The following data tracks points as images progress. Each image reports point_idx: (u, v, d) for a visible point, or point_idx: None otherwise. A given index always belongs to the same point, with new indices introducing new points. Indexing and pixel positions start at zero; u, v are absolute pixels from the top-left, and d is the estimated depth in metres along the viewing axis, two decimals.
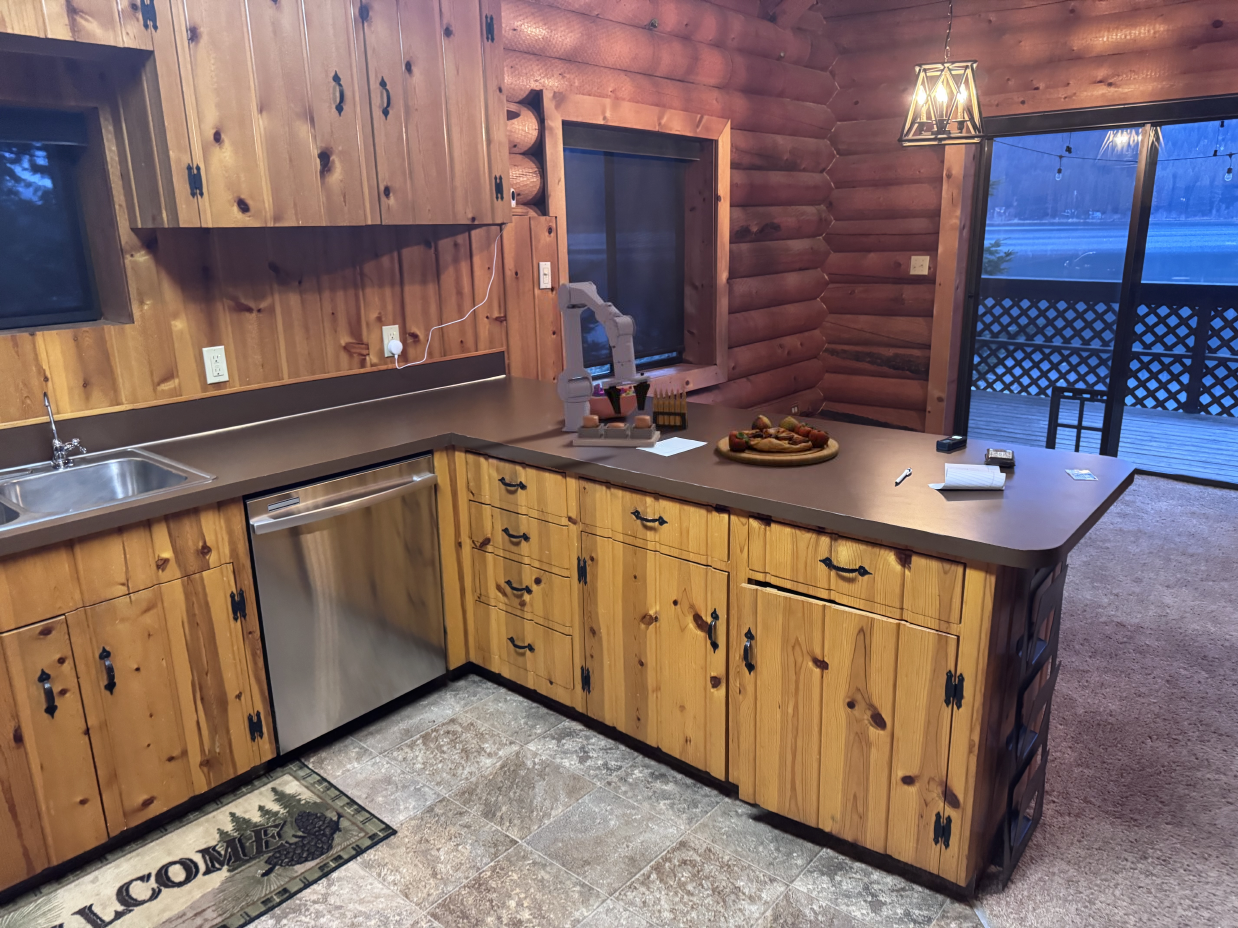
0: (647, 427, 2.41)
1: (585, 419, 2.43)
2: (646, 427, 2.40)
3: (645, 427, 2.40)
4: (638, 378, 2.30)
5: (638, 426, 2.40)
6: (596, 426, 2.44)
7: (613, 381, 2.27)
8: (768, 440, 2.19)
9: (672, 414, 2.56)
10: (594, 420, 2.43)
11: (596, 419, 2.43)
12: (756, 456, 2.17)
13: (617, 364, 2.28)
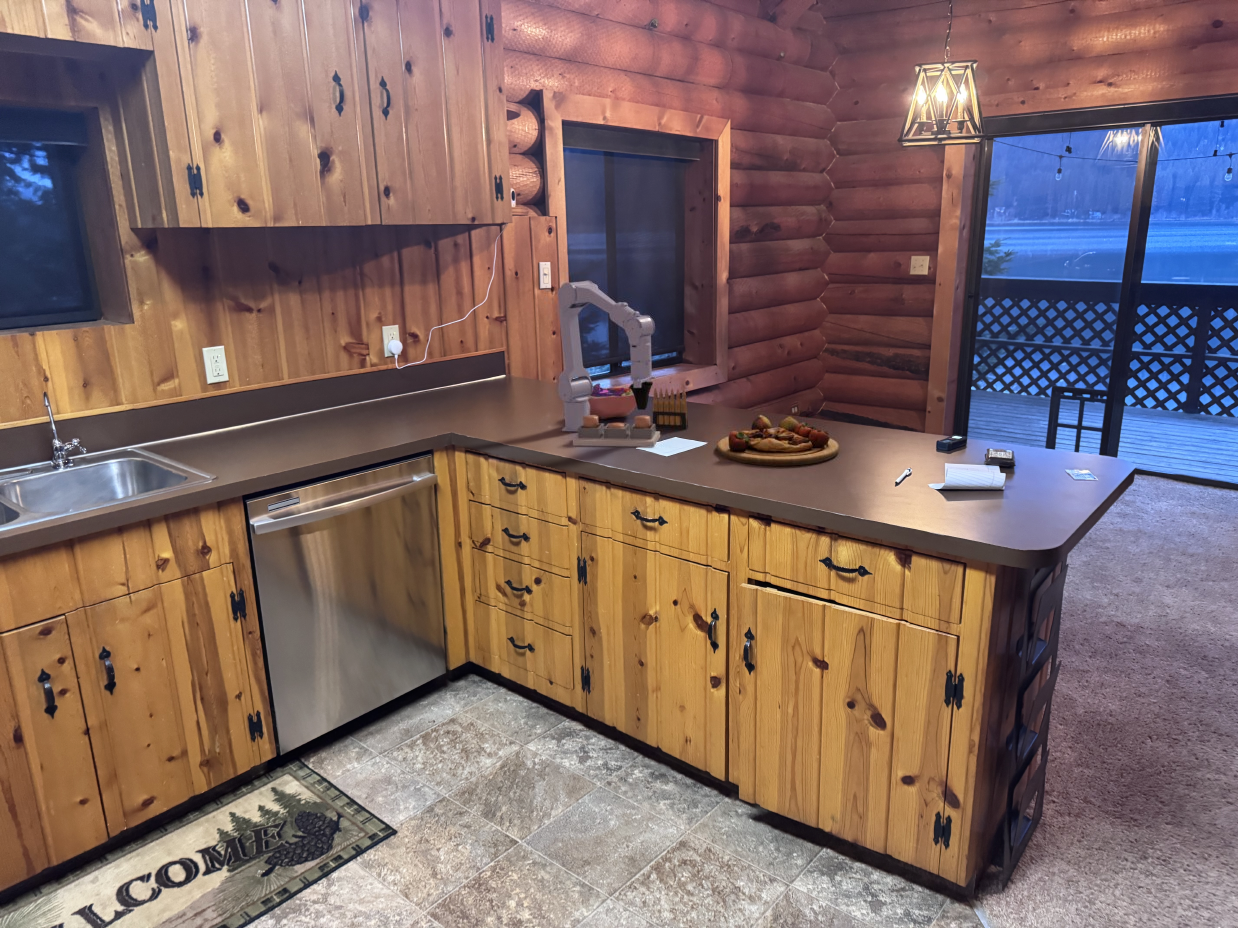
0: (647, 427, 2.41)
1: (585, 419, 2.43)
2: (646, 427, 2.40)
3: (645, 427, 2.40)
4: None
5: (638, 426, 2.40)
6: (596, 426, 2.44)
7: (643, 380, 2.34)
8: (768, 440, 2.19)
9: (672, 414, 2.56)
10: (594, 420, 2.43)
11: (596, 419, 2.43)
12: (756, 456, 2.17)
13: (642, 363, 2.35)
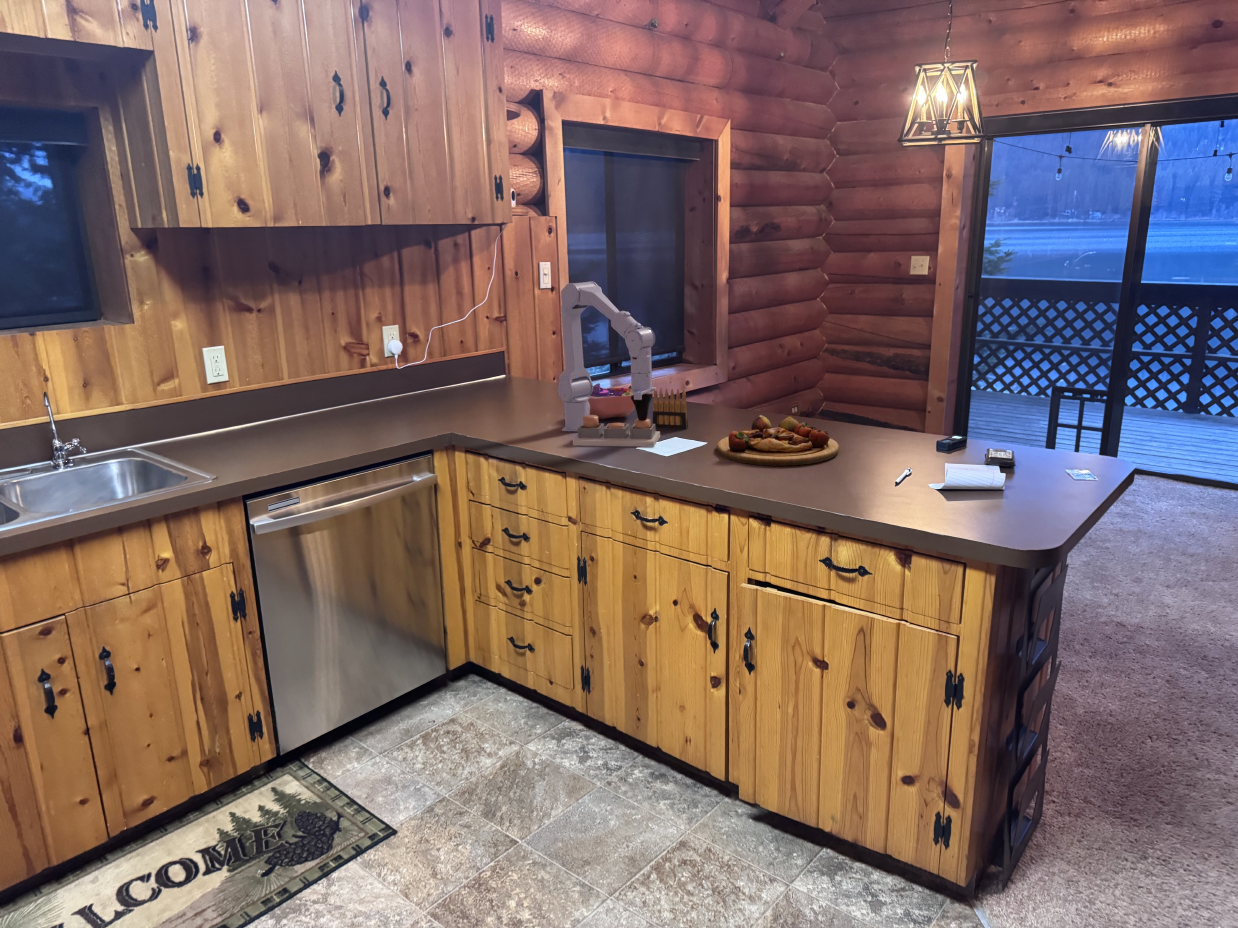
0: None
1: (585, 419, 2.43)
2: None
3: None
4: None
5: None
6: (596, 426, 2.44)
7: (644, 392, 2.34)
8: (768, 440, 2.19)
9: (672, 414, 2.56)
10: (594, 420, 2.43)
11: (596, 419, 2.43)
12: (756, 456, 2.17)
13: (642, 375, 2.36)
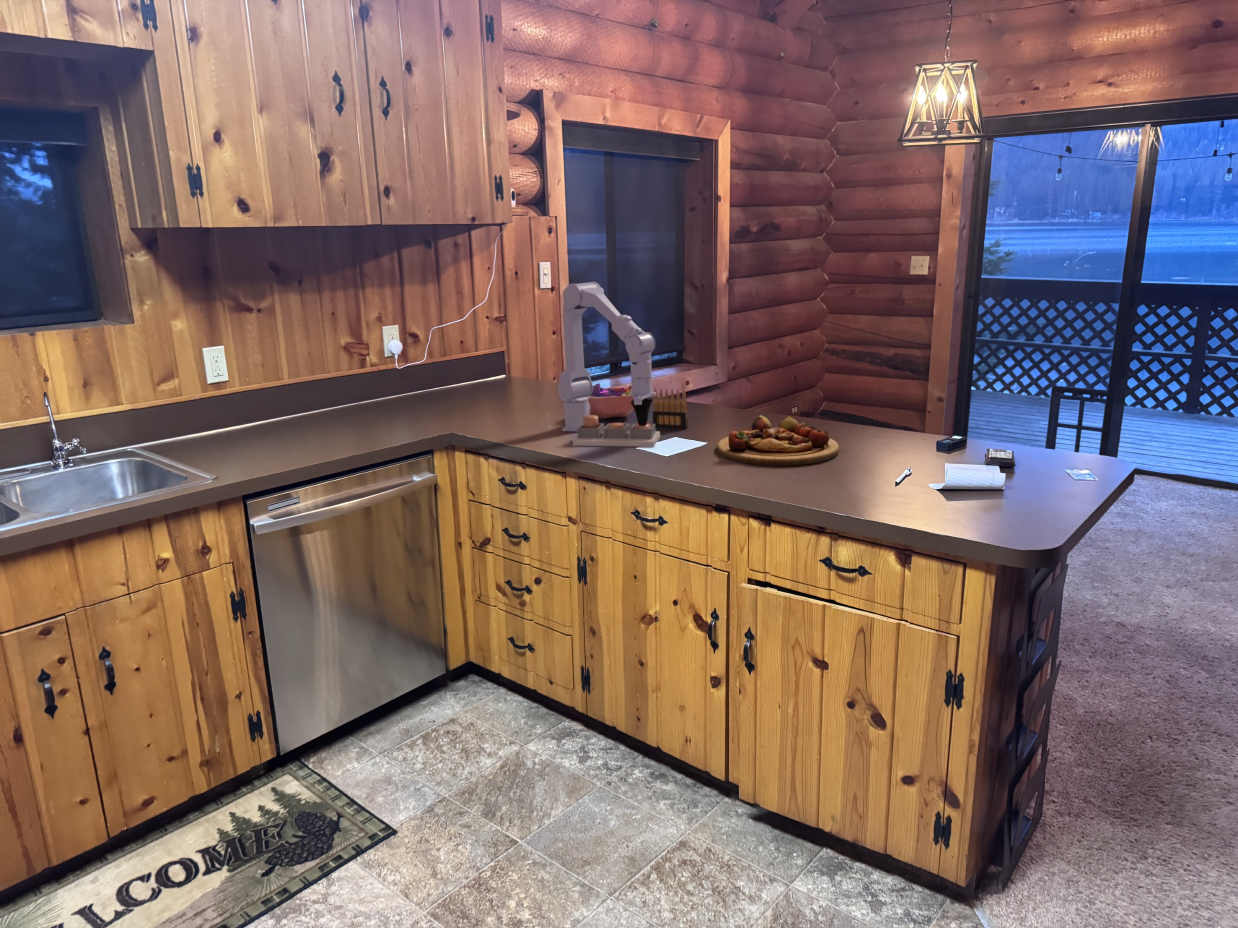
0: None
1: (585, 419, 2.43)
2: None
3: None
4: None
5: None
6: (596, 426, 2.44)
7: (644, 397, 2.35)
8: (768, 440, 2.19)
9: (672, 414, 2.56)
10: (594, 420, 2.43)
11: (596, 419, 2.43)
12: (756, 456, 2.17)
13: (642, 380, 2.36)
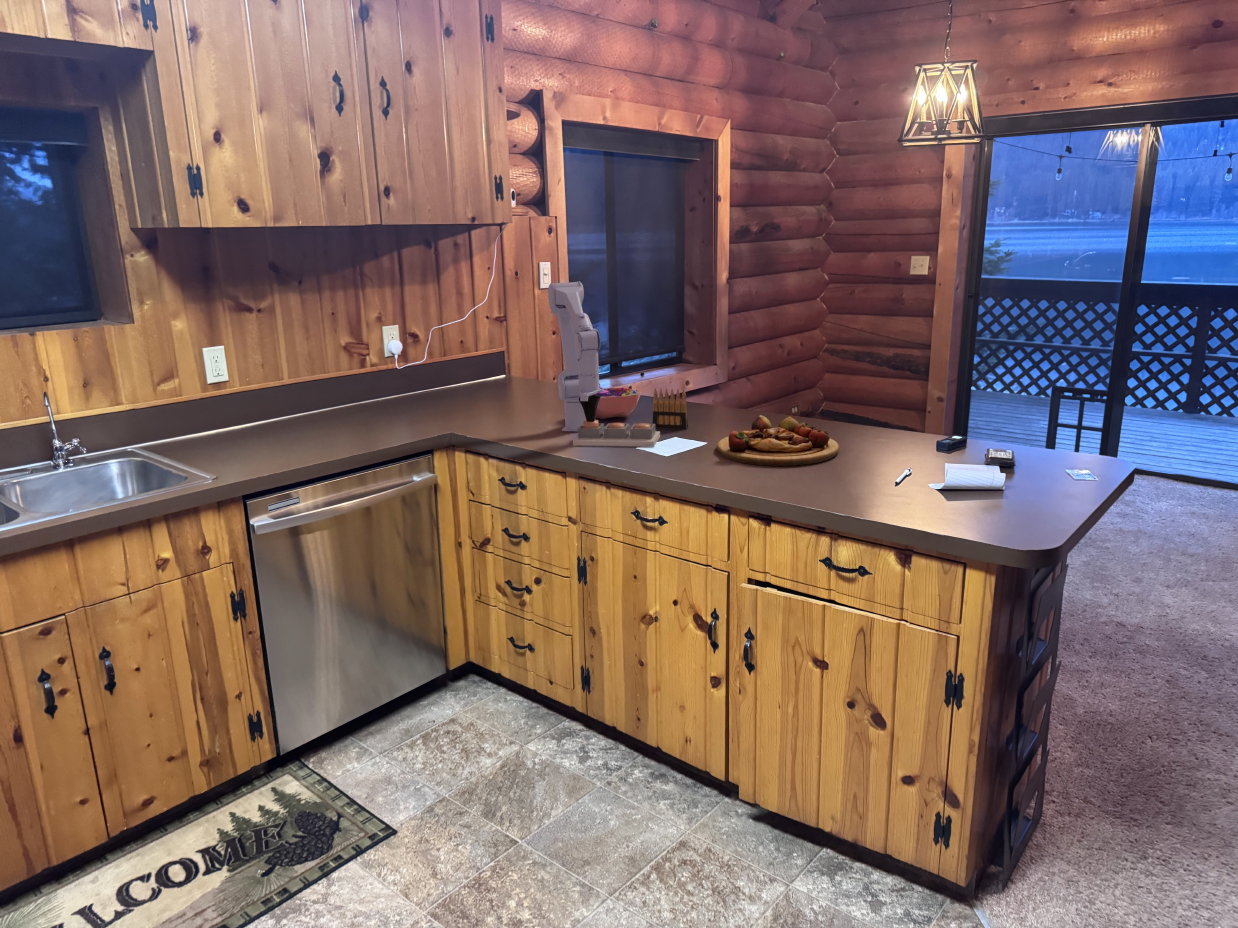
0: None
1: (585, 424, 2.43)
2: None
3: None
4: (599, 389, 2.44)
5: None
6: None
7: (590, 393, 2.37)
8: (768, 440, 2.19)
9: (672, 414, 2.56)
10: (594, 425, 2.43)
11: (596, 424, 2.44)
12: (756, 456, 2.17)
13: (589, 377, 2.38)
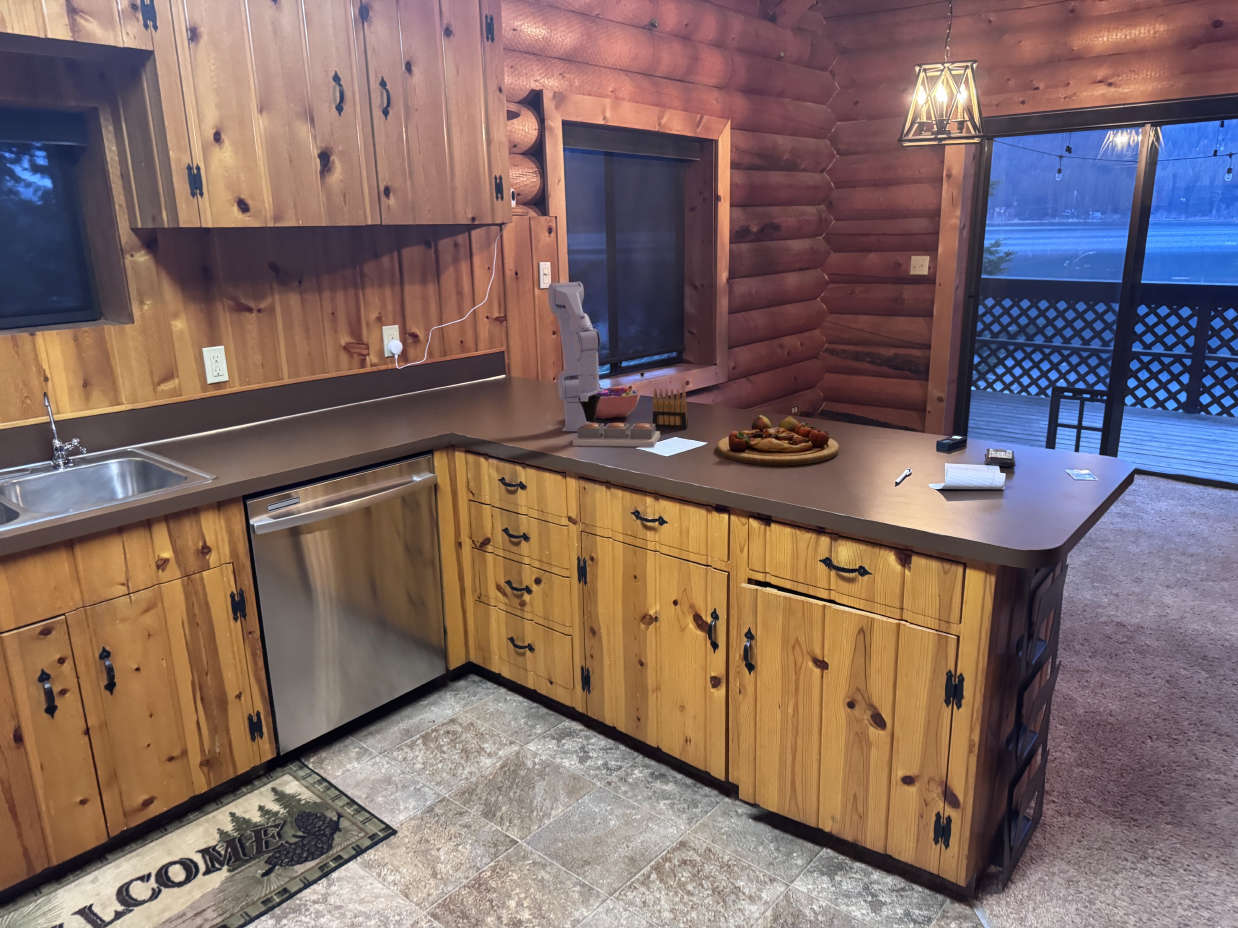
0: None
1: (585, 427, 2.44)
2: None
3: None
4: (599, 389, 2.44)
5: None
6: None
7: (590, 394, 2.37)
8: (768, 440, 2.19)
9: (672, 414, 2.56)
10: None
11: (596, 427, 2.44)
12: (756, 456, 2.17)
13: (589, 377, 2.39)
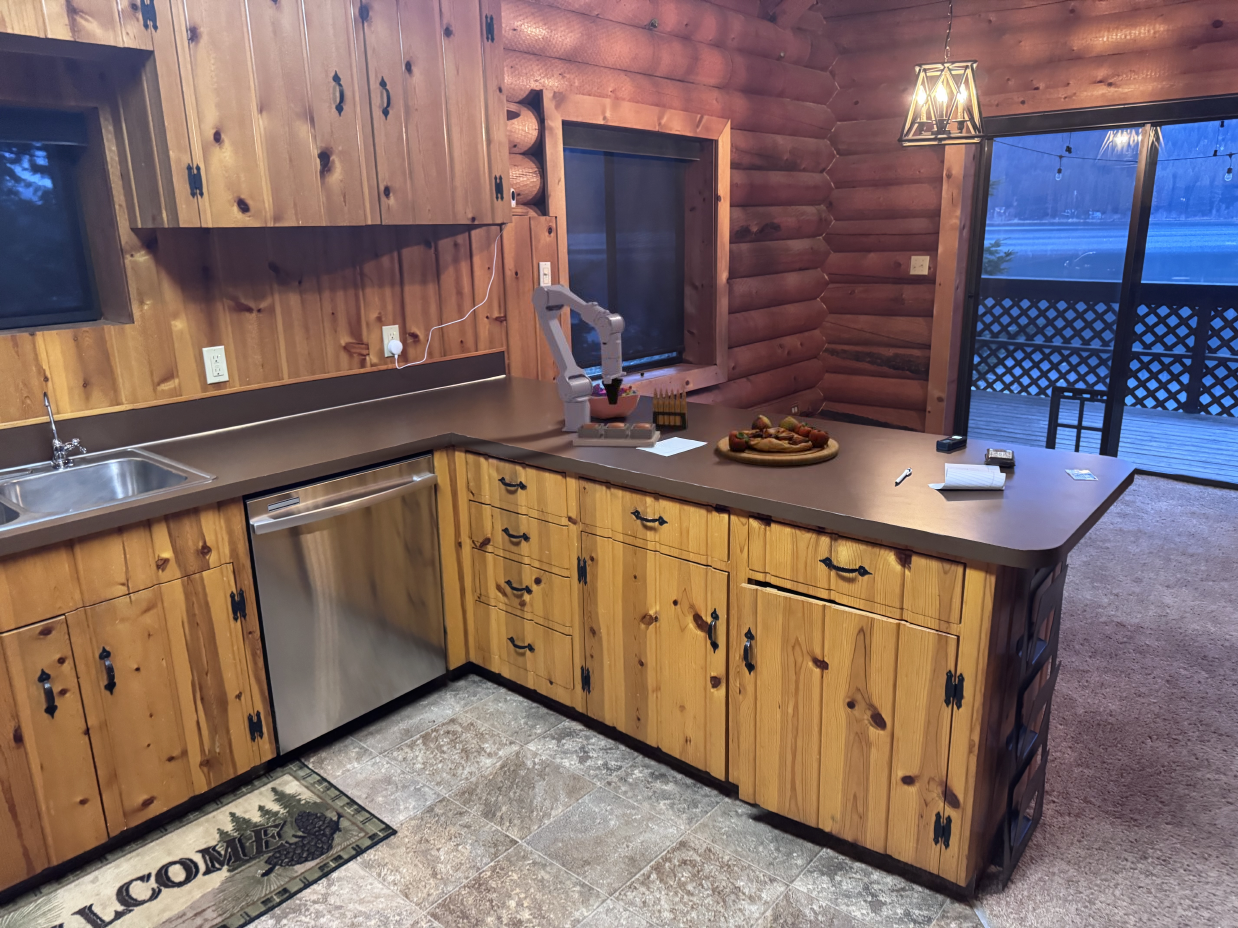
0: None
1: (585, 427, 2.44)
2: None
3: None
4: None
5: None
6: None
7: (613, 376, 2.41)
8: (768, 440, 2.19)
9: (672, 414, 2.56)
10: None
11: (596, 427, 2.44)
12: (756, 456, 2.17)
13: (612, 360, 2.42)
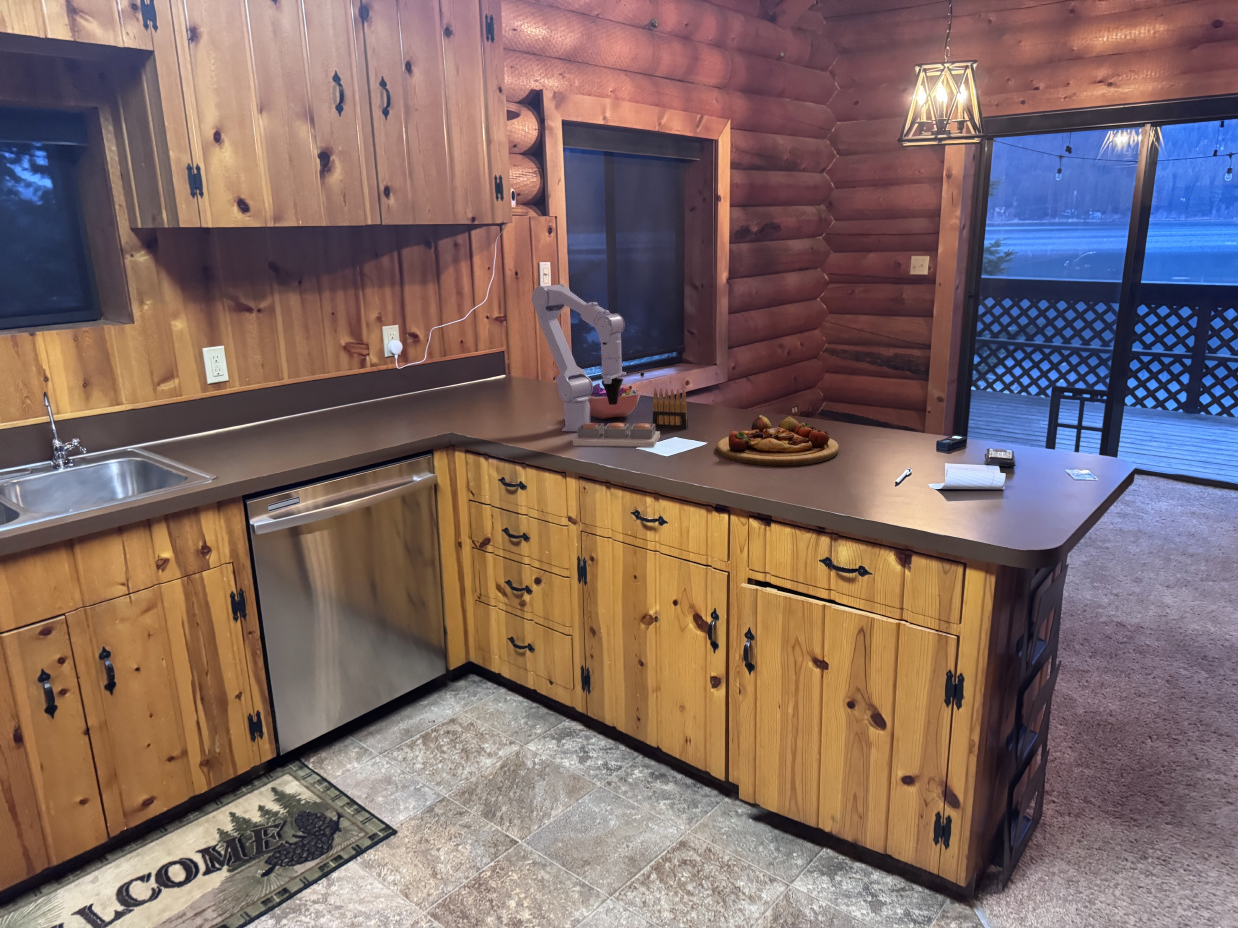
0: None
1: (585, 427, 2.44)
2: None
3: None
4: None
5: None
6: None
7: (613, 376, 2.41)
8: (768, 440, 2.19)
9: (672, 414, 2.56)
10: None
11: (596, 427, 2.44)
12: (756, 456, 2.17)
13: (612, 360, 2.42)
